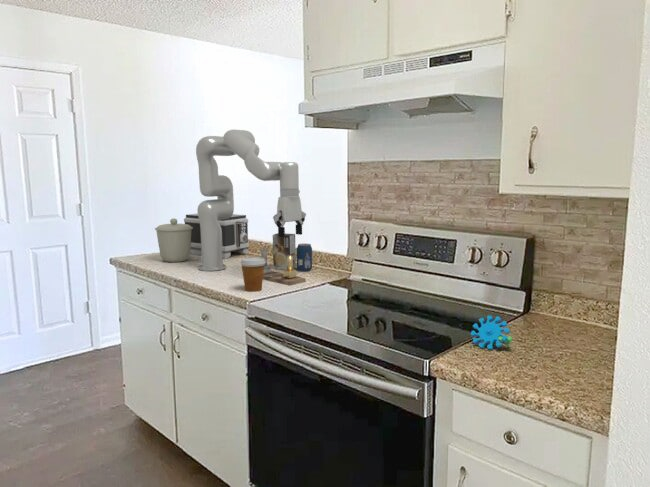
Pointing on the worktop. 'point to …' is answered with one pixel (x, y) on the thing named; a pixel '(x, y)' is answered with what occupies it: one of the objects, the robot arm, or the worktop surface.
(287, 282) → the gauge board
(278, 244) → the coffee box
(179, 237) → the canister
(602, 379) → the worktop surface
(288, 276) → the sliding leg
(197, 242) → the microwave oven
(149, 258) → the worktop surface
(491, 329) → the gear
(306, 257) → the soda can
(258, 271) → the disposable coffee cup
